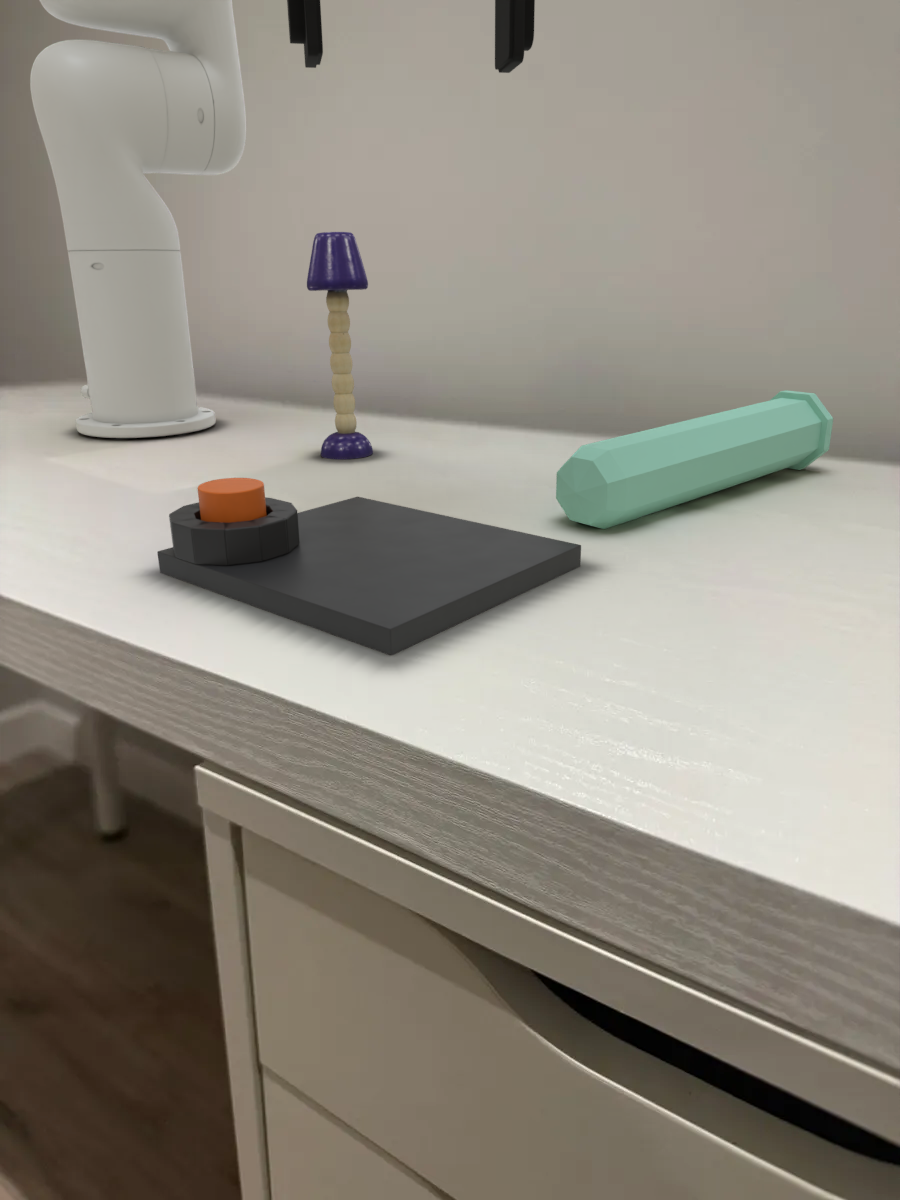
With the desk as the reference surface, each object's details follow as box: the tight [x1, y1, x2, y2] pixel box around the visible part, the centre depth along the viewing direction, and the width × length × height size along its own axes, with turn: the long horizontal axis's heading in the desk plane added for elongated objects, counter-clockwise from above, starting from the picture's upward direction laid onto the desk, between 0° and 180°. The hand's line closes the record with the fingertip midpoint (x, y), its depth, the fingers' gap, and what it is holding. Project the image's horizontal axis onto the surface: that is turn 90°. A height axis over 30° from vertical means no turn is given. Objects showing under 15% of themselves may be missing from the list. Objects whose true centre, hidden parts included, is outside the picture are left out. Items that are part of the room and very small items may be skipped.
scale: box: [157, 496, 582, 656], centre depth 44 cm, size 16×14×3 cm
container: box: [555, 390, 834, 530], centre depth 57 cm, size 6×6×25 cm
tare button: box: [196, 477, 267, 523], centre depth 44 cm, size 3×3×2 cm
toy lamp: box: [306, 231, 374, 460], centre depth 69 cm, size 5×5×17 cm
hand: (413, 64), depth 43 cm, fingers open, 9 cm apart
